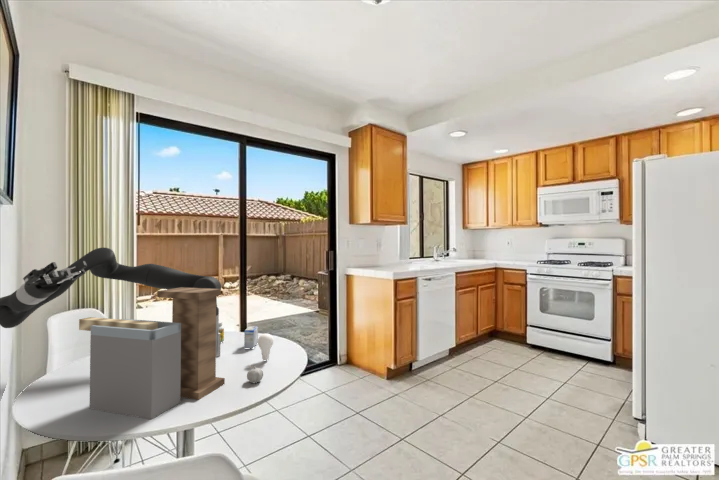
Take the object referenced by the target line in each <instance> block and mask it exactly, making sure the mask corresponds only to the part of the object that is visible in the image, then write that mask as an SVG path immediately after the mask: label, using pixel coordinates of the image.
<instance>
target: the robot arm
mask: <svg viewBox="0 0 719 480" xmlns="http://www.w3.org/2000/svg"><path fill="white" fill-rule="evenodd" d="M57 269H58V265H57V263H56V261H55V262H54V261H51V263H49V264H47V265H46V266H44V267H41V268H40V269H37V268H34V269H32V270H31V271H29V272H28V273H27V274H26V275H25V276H24V277H23V278H22V280H23V282H24V283H23V284H22V285H21V286H19V287H18V289H16V290H15V291H14V292H12V293H11V294H8V295H7V296H6V295H5V296H1V297H0V326H1V327H2V328H4V329H12V328H16V327H17V326H19V325H21V324H22V323H23V322H24V321H25V320H26V319H28V318H29V317H30V316H32V314H33V313H35V312H36V311H37V310H38V309H39V308H41V307H42V306H44V305H46V304H47V303H50V302H51V301H54V299H56V298H58V297H59V296H61V295H62V294H64V293H65V292H66V291H68V290H69V289H70V287H71V286H72V285H73V284H74V283H75V282H76V281H77V280H78V279H79V278H81V277H82V276H84V275H85V274H86V273H87V272H88V271H89V272H90V273H91V274H92V275H93V276H95V277H97V278H101V279H102V278H103V279H109V280H116V281H122V282H123V281H124V282H130V283H133V284H139V285H142V286H146V287H150V288H151V287H152V288H155V289H162V290H168V289H174V288H181V287H184V288H209V289H221V290H222V284H221V282H220V280H218V279H217V278H216V277H214V276H210V275H209V276H207V275H199V274H193V273H189V272H185V271H182V270H179V269H175V268H171V267H169V266H165V265H159V264H157V263H145V264H141V265H137V266H130V265H129V266H128V265H125V264H121V263H118V262H117V258H116V254H115V251H114V250H113V249H111V248H108V247H97V248H95V249H93V250H91V251H89V252H87V253H86V254H85V255H83V256H81V257H80V258H79V259H77V260H75V261H74V262H73V263H72V264H70V265H68V266H67V267H66V268H62V269H59V270H57ZM217 297H218V296H216V358H217V357H220V356H221V343H220V333H219V322H220V320H219V316H220V315H219V313H220V309H219V307H218V303H217V301H218V300H217Z"/></svg>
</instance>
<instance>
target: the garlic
mask: <svg viewBox="0 0 719 480" xmlns="http://www.w3.org/2000/svg"><path fill="white" fill-rule="evenodd" d="M246 377H247V380H248V382H250V383H251V382H252V384H257V383H256V382H259V383H260V382H261V381H262V379H263V377H264V370H263V369H262V368H260V367H256V366H255V365H251V366H250V369H249V370H248V371H247V374H246Z"/></svg>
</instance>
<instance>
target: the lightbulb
mask: <svg viewBox="0 0 719 480" xmlns="http://www.w3.org/2000/svg"><path fill="white" fill-rule="evenodd" d="M274 342H275V340H274V337H273V335H271V334H270V333H263V334H261V335H260V336H258V344H257V346H258V347H259V349H260V350H261V351H260V352H261V356H262V357H261V358H262V359H263V360H262V361H264V360H267V359H268V360H269V359H270V353H271V349H272V346H273V345H274ZM268 360H267V361H268Z"/></svg>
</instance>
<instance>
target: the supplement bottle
mask: <svg viewBox="0 0 719 480" xmlns="http://www.w3.org/2000/svg"><path fill="white" fill-rule="evenodd" d="M219 333H220V344H222V343H221V342H223V341H224V340H225V327H224V326H223V321H219ZM223 343H224V342H223Z"/></svg>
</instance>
